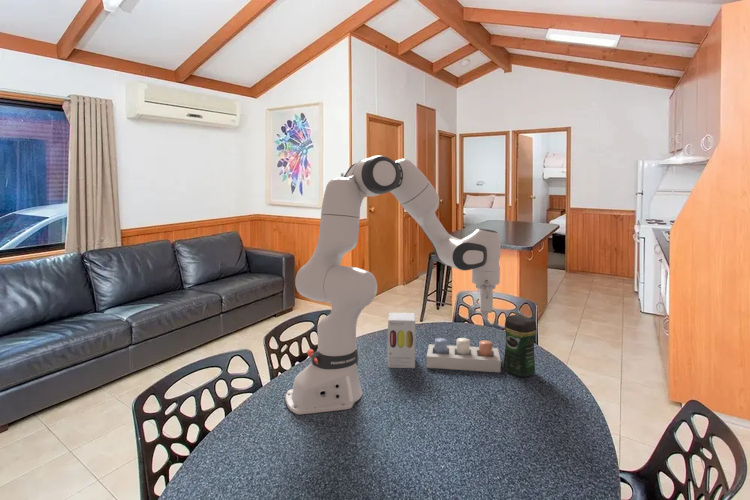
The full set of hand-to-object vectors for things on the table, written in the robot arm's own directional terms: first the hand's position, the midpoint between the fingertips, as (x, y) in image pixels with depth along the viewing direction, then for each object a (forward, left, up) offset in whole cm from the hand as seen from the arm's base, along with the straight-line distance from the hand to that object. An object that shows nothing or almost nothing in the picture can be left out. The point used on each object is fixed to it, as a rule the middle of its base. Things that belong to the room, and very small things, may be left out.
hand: (484, 318), depth 146 cm
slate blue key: (-12, +8, -13) cm, 19 cm away
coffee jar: (+7, -9, -17) cm, 20 cm away
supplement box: (-24, +13, -17) cm, 33 cm away
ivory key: (-6, +4, -12) cm, 14 cm away
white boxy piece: (-6, +4, -17) cm, 18 cm away
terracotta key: (+1, 0, -13) cm, 13 cm away
